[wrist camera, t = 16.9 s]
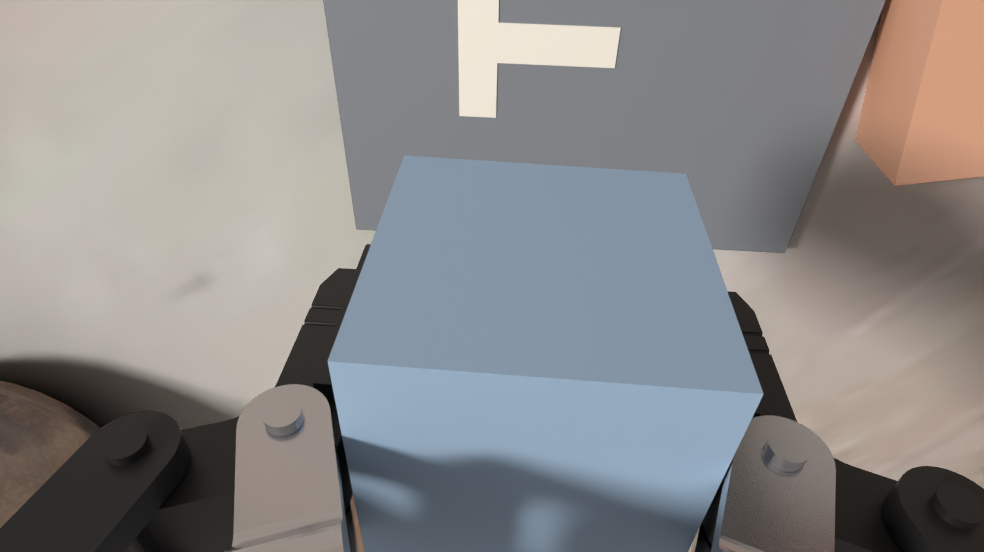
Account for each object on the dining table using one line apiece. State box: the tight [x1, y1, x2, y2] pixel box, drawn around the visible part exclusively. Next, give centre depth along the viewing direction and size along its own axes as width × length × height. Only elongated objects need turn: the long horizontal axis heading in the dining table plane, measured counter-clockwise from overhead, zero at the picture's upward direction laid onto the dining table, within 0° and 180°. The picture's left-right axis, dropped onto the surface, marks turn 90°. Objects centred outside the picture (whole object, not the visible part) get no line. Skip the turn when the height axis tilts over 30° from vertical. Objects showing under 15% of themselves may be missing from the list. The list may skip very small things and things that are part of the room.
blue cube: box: [328, 155, 763, 552], centre depth 11 cm, size 5×5×5 cm
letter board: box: [323, 0, 886, 253], centre depth 24 cm, size 20×18×1 cm
